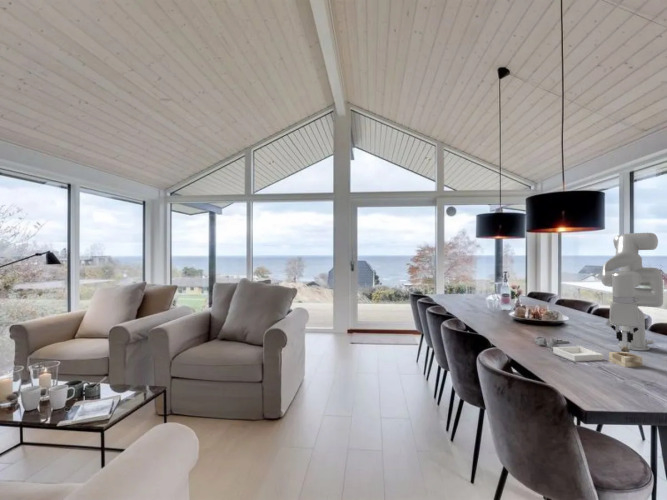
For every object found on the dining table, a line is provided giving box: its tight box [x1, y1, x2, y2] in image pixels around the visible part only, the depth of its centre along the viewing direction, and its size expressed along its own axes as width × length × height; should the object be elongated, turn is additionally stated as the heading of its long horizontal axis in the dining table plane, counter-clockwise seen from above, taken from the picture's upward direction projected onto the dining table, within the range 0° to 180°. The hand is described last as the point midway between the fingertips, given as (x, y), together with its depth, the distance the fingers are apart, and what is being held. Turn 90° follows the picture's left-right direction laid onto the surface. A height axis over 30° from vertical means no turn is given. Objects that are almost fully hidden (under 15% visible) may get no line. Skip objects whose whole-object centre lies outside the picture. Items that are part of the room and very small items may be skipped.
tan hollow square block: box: [608, 351, 643, 368], centre depth 153 cm, size 8×8×5 cm
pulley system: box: [534, 336, 569, 351], centre depth 190 cm, size 27×5×15 cm
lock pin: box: [619, 330, 631, 353], centre depth 153 cm, size 3×3×9 cm
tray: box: [552, 345, 604, 364], centre depth 165 cm, size 14×14×4 cm
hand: (624, 340), depth 153 cm, fingers closed on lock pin, 3 cm apart
